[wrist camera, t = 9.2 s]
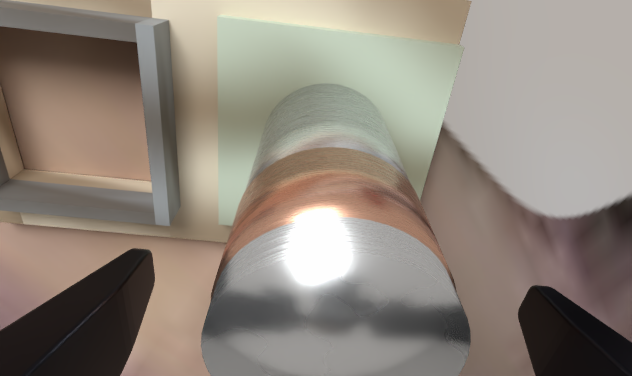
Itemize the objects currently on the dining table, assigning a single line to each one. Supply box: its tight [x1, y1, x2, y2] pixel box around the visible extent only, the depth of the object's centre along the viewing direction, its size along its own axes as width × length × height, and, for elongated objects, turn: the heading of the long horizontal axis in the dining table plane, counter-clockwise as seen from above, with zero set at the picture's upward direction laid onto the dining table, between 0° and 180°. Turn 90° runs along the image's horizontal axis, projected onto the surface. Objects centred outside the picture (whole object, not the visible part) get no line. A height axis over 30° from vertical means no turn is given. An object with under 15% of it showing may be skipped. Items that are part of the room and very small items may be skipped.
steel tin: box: [201, 83, 470, 376], centre depth 12 cm, size 5×5×10 cm
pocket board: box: [0, 0, 471, 243], centre depth 16 cm, size 12×20×3 cm, turn 83°
